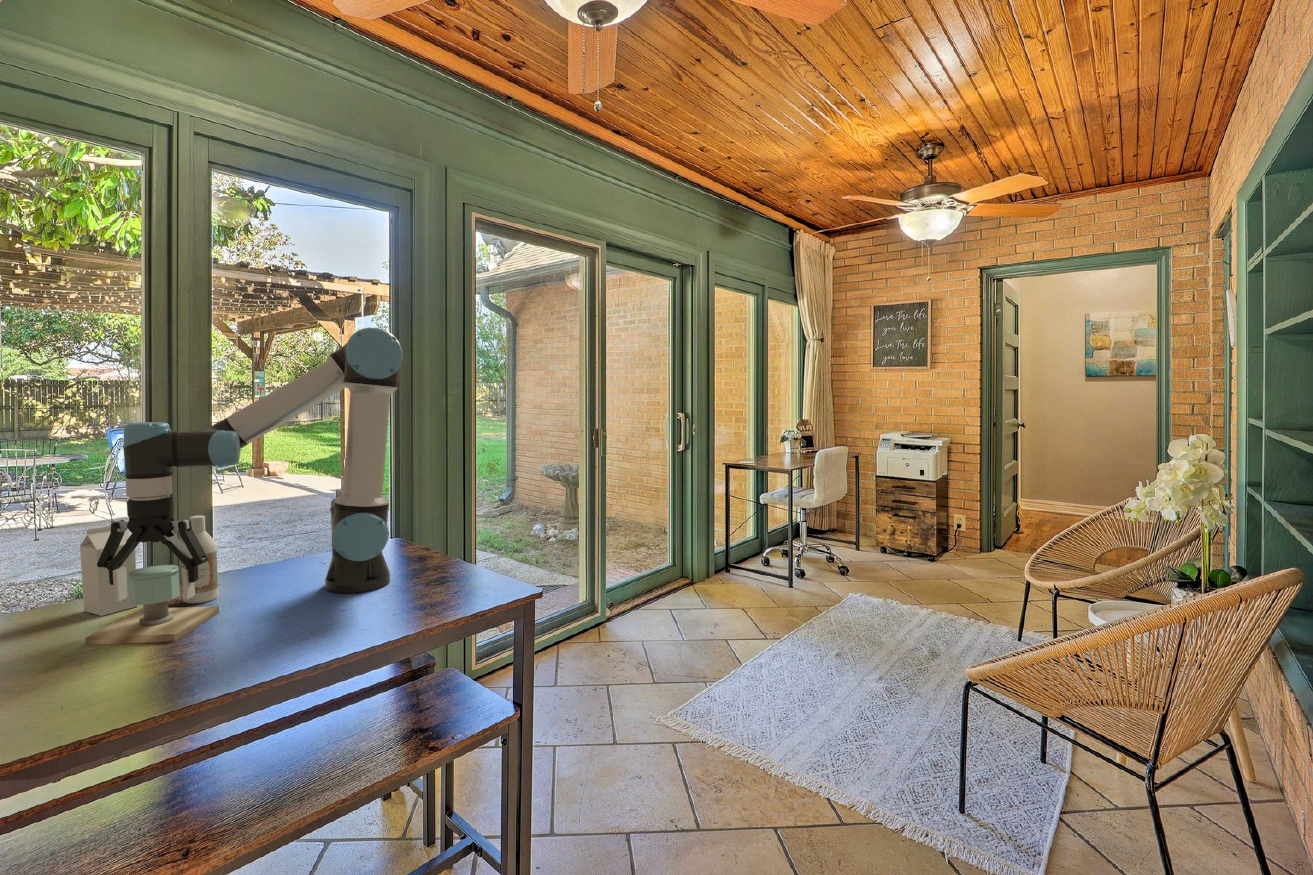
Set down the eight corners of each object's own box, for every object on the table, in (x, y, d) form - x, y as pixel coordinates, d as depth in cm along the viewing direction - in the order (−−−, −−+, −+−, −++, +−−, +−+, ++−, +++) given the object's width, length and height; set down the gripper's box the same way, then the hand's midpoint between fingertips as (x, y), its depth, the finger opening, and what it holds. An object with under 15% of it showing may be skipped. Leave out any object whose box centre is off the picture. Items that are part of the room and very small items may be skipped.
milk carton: (138, 606, 144) (134, 525, 143) (100, 616, 138) (95, 531, 136) (121, 601, 147) (116, 522, 146) (83, 611, 141) (78, 528, 139)
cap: (170, 589, 137) (168, 562, 137) (186, 596, 133) (185, 568, 132) (123, 600, 130) (121, 571, 130) (139, 607, 126) (137, 578, 126)
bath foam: (181, 606, 145) (177, 520, 143) (184, 597, 151) (179, 515, 149) (218, 600, 149) (214, 517, 147) (219, 592, 155) (215, 512, 153)
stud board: (219, 612, 141) (217, 562, 140) (175, 641, 125) (172, 584, 124) (140, 615, 139) (137, 564, 138) (85, 644, 123) (82, 587, 122)
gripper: (224, 493, 135) (228, 590, 137) (97, 494, 132) (103, 594, 134) (204, 499, 128) (209, 602, 130) (69, 501, 124) (76, 606, 126)
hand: (155, 598), depth 132 cm, fingers open, 12 cm apart
